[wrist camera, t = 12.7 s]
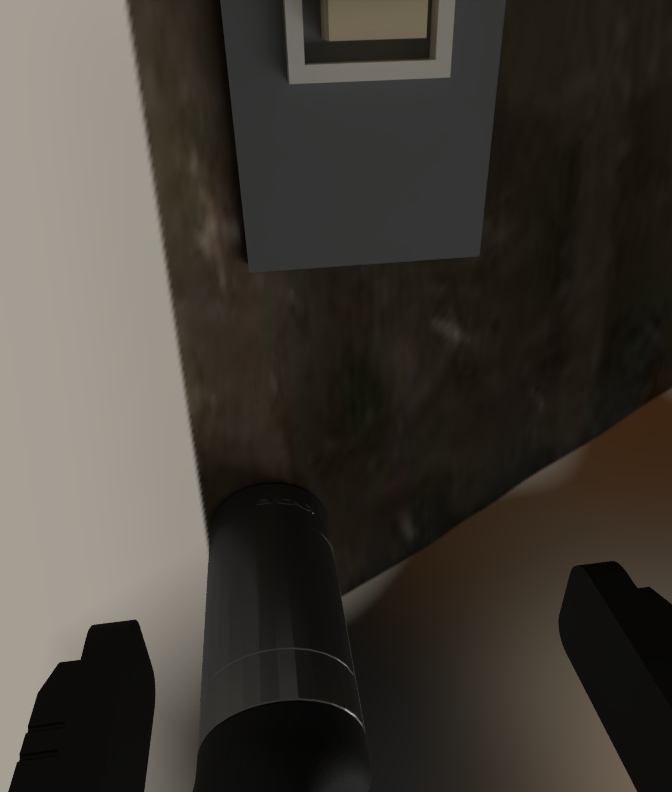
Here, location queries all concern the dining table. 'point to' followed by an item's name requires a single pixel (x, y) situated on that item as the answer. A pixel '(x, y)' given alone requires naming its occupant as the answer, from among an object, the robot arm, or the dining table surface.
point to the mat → (360, 142)
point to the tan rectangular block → (373, 19)
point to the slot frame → (370, 70)
